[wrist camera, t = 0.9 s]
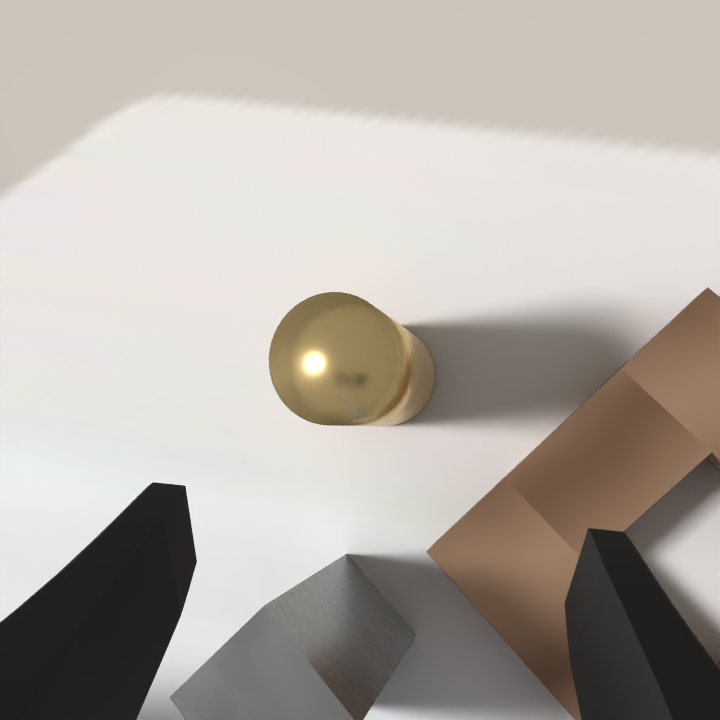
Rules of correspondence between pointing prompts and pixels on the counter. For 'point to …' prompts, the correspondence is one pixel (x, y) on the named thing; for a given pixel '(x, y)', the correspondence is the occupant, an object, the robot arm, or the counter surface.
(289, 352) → the round bit
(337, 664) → the square bit
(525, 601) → the frame
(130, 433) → the counter surface
